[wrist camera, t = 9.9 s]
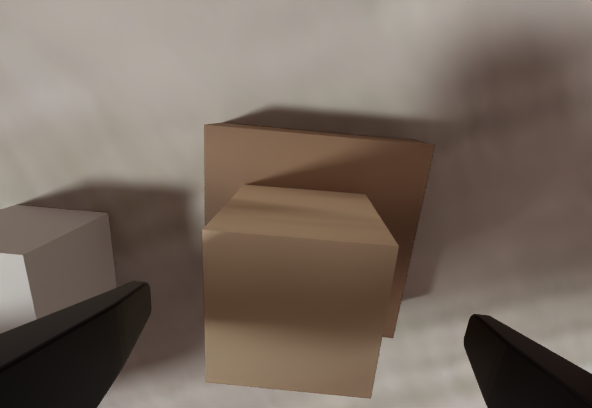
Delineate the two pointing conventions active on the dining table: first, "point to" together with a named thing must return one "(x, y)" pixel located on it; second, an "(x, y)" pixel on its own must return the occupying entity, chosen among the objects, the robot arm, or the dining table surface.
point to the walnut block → (325, 177)
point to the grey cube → (51, 261)
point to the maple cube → (296, 290)
